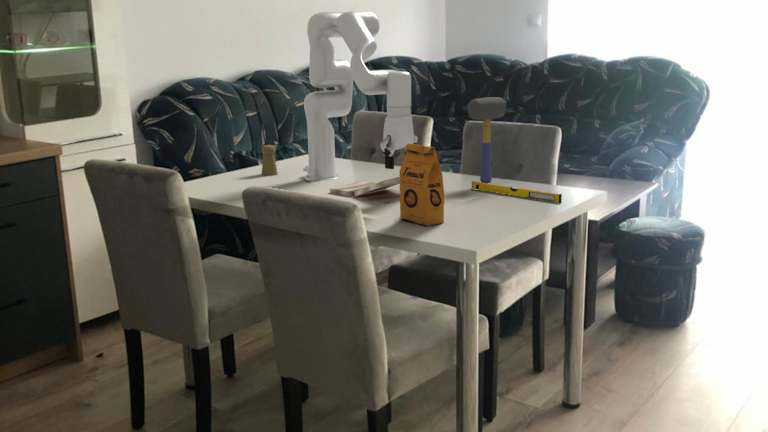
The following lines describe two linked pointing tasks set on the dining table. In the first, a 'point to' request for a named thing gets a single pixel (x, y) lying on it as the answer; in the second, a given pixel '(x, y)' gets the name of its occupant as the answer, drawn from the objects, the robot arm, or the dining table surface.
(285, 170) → the dining table surface
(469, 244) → the dining table surface
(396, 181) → the ash plank
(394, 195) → the floor board
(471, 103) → the rubber mallet
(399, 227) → the dining table surface
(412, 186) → the coffee package
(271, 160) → the cork
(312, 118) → the robot arm
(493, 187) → the spirit level
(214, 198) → the dining table surface
